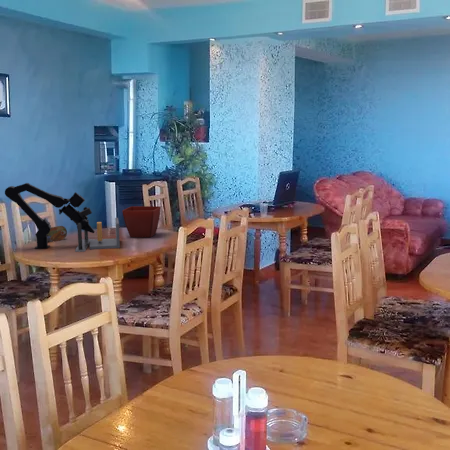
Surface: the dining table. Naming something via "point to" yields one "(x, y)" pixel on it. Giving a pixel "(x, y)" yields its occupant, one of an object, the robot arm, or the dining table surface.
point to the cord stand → (82, 240)
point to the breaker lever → (99, 231)
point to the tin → (57, 233)
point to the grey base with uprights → (107, 240)
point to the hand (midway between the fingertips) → (94, 232)
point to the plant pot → (142, 220)
